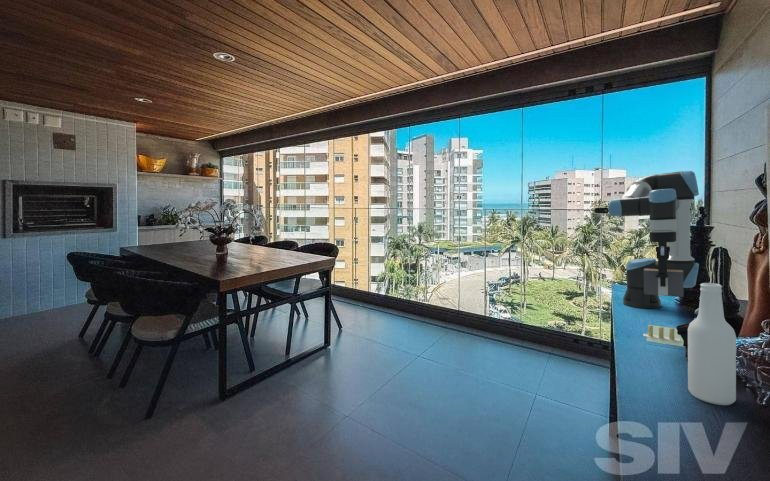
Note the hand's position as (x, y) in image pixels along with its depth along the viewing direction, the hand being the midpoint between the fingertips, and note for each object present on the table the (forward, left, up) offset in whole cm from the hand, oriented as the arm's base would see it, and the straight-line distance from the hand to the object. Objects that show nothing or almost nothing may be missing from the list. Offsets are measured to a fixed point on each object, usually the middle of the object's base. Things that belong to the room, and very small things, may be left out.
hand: (663, 293), depth 120 cm
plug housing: (0, 0, 0) cm, 0 cm away
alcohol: (+40, +10, -18) cm, 45 cm away
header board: (-2, +1, -18) cm, 18 cm away
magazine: (+17, +10, -18) cm, 27 cm away
